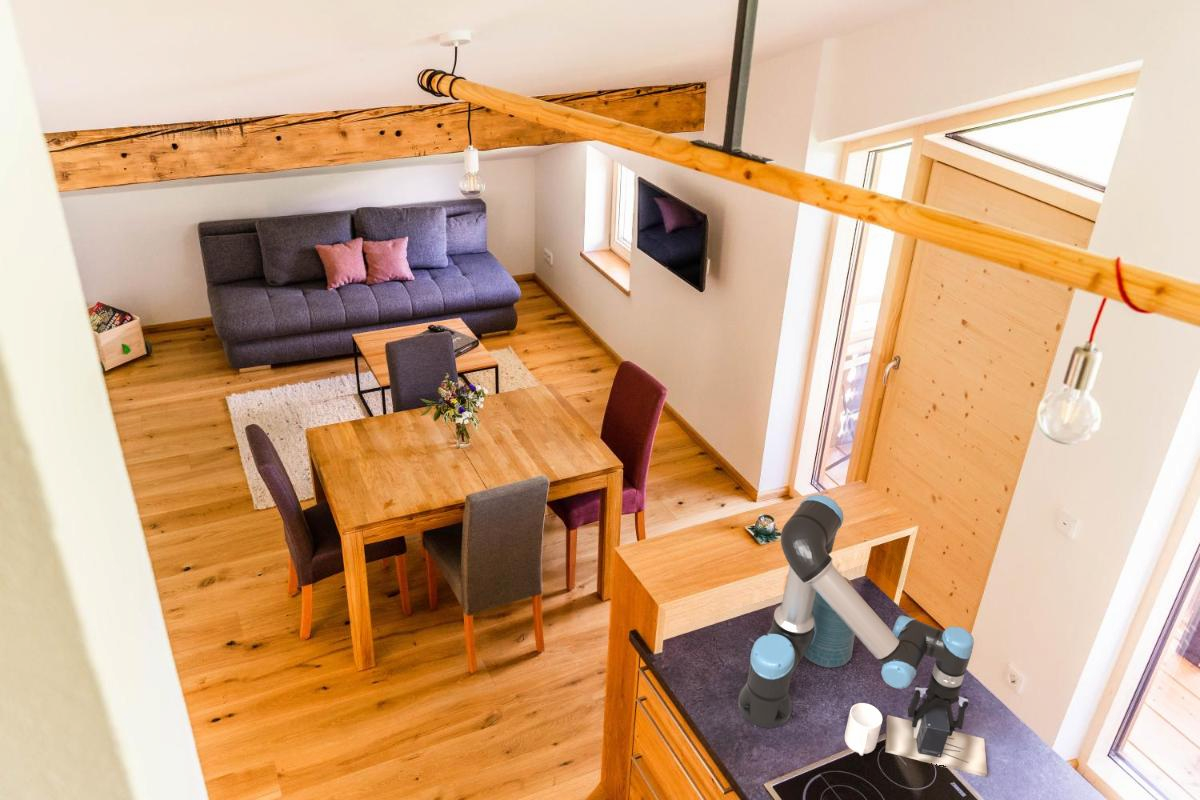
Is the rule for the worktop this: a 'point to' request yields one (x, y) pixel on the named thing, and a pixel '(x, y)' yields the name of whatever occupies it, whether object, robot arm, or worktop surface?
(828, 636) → the vase
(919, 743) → the small box
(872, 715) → the mug
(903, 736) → the board
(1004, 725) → the worktop surface
